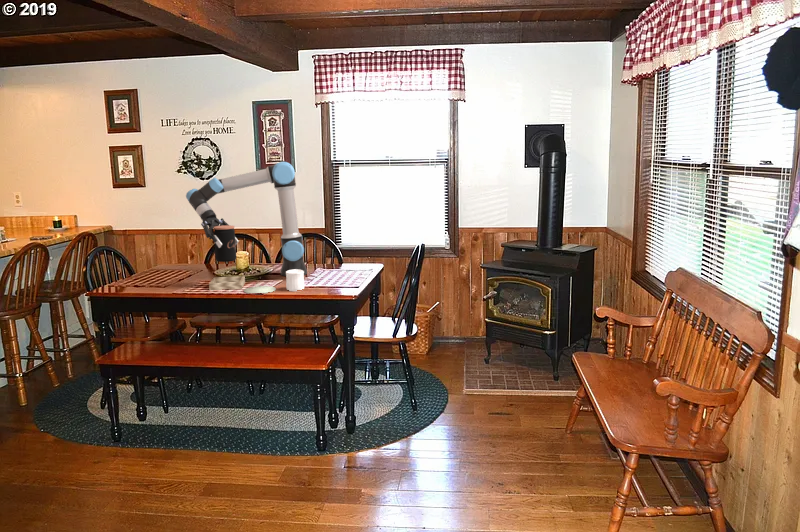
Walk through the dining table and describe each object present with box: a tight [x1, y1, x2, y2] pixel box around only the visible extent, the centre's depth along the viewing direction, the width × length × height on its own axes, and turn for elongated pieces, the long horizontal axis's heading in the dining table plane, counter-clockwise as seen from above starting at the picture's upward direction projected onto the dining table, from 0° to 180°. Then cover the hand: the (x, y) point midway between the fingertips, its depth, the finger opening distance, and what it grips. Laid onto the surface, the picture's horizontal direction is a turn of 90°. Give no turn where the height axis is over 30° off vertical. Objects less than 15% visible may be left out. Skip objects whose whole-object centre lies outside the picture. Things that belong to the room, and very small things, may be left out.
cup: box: [285, 269, 305, 292], centre depth 338 cm, size 10×10×10 cm
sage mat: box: [243, 285, 277, 294], centre depth 338 cm, size 16×16×1 cm
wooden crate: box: [208, 276, 246, 291], centre depth 349 cm, size 16×16×4 cm
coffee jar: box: [214, 224, 237, 263], centre depth 345 cm, size 11×11×18 cm
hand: (229, 244), depth 344 cm, fingers closed on coffee jar, 11 cm apart
